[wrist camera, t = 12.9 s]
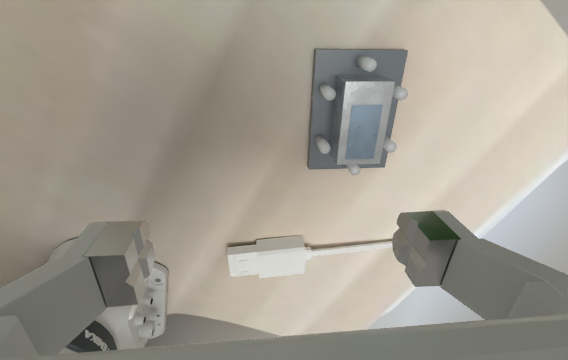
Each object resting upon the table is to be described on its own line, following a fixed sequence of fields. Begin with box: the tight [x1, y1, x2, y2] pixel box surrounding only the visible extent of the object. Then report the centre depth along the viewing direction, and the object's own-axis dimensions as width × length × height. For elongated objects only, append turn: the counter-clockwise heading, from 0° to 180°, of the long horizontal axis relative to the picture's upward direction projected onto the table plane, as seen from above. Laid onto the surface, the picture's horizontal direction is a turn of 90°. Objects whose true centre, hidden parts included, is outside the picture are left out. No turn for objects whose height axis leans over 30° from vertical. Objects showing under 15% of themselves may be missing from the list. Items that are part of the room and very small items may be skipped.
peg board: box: [308, 49, 408, 175], centre depth 34 cm, size 14×10×4 cm
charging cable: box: [227, 235, 393, 278], centre depth 44 cm, size 5×32×3 cm, turn 91°
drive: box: [329, 75, 395, 165], centre depth 33 cm, size 9×5×4 cm, turn 179°
